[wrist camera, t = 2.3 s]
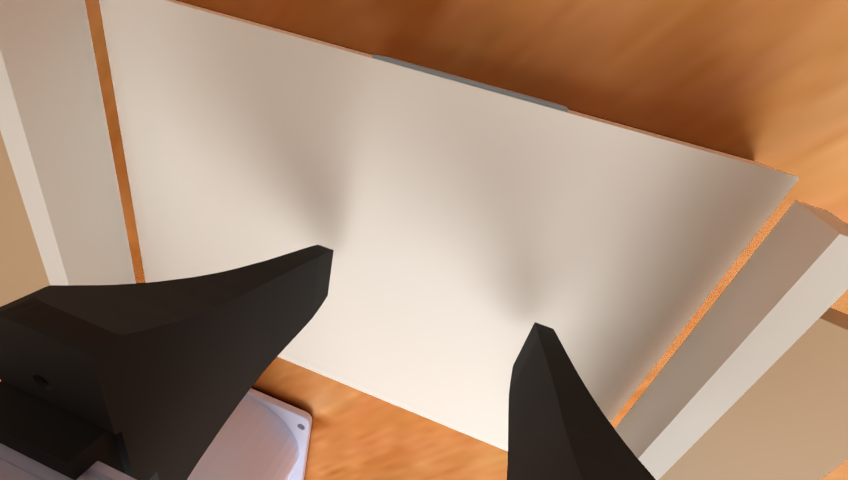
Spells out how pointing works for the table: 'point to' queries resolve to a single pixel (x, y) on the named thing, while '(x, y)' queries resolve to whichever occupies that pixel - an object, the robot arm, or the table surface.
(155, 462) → the robot arm
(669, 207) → the carton
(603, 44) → the table surface
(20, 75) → the far flap
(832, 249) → the near flap
